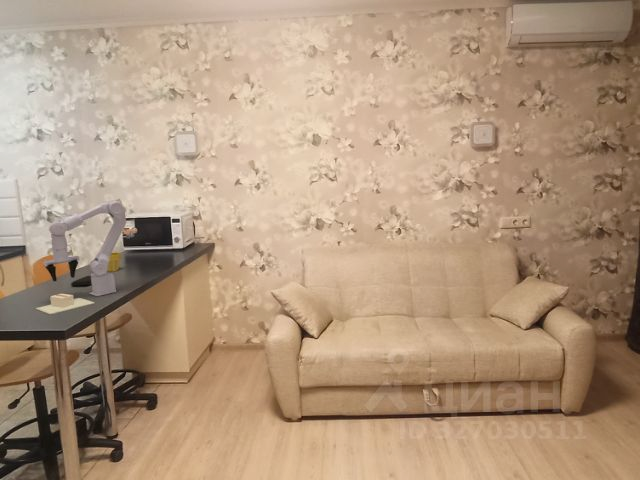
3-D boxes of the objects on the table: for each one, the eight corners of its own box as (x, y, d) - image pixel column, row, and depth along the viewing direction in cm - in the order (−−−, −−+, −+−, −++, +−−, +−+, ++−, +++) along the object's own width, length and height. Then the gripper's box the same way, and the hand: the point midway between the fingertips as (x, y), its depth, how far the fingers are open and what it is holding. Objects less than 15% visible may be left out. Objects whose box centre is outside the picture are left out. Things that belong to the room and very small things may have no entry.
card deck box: (74, 304, 200) (73, 295, 199) (63, 307, 195) (62, 298, 194) (62, 302, 203) (61, 293, 202) (51, 305, 199) (50, 296, 198)
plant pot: (125, 268, 272) (123, 251, 271) (116, 272, 262) (114, 255, 260) (108, 268, 273) (107, 252, 272) (98, 272, 263) (97, 255, 261)
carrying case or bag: (85, 280, 247) (67, 287, 232) (85, 275, 246) (67, 281, 232) (104, 280, 245) (87, 287, 231) (104, 274, 245) (86, 281, 230)
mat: (79, 298, 210) (79, 297, 210) (94, 303, 201) (94, 302, 201) (36, 309, 196) (35, 308, 196) (50, 314, 187) (50, 313, 187)
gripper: (72, 245, 214) (76, 274, 216) (38, 251, 202) (42, 281, 204) (79, 247, 209) (83, 276, 211) (45, 252, 198) (49, 283, 200)
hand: (63, 279), depth 208 cm, fingers open, 7 cm apart
